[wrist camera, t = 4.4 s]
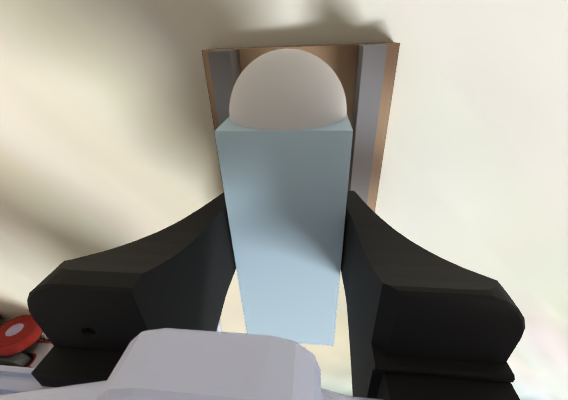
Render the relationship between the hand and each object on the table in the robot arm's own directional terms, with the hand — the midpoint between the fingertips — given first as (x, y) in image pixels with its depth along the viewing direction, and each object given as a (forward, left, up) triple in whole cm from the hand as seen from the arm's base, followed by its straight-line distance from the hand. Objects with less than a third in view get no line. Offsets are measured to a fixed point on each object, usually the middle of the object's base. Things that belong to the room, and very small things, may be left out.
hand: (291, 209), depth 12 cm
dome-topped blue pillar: (0, 0, -2) cm, 2 cm away
